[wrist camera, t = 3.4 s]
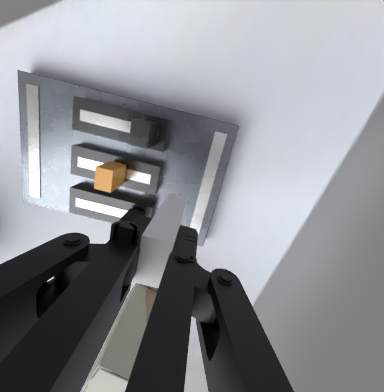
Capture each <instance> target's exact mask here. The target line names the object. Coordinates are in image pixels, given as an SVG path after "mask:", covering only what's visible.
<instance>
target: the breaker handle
mask: <svg viewBox="0 0 384 392" xmlns="http://www.w3.org/2000/svg"><path fill="white" fill-rule="evenodd" d="M125 172H126V164H122V163H118V162H114V161H110V162H107V163H104V164H102V165H99V166H96V170H95V183H94V189H97V190H101V191H105V192H109V193H111V192H113V191H114V190H116V189H117V188H118V187H120V186H121V185H123V184H124V180H125Z"/></svg>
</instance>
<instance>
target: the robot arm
mask: <svg viewBox="0 0 384 392" xmlns="http://www.w3.org/2000/svg"><path fill="white" fill-rule="evenodd" d="M187 200H188V197H184V196H180V195H176V194H172V193H168V195H167V196H166V198H165V200H164V201H163V203H162V204H161V206H160V207H159V209H158V211H157V212H156V214H155V215H154V217H153V218H149V217H145V216H139V217H136V218H135V219H134V220H133V221H132V222H131V221H117V222H114V223H113V224H112V225H111V233H110V240H109V241H108V242H107V243H106V244H89V243H90V240H89V237H87V236H86V235H84V234H81V233H68V234H64V235H61V236H59V237H57V238H55V239H53V240H51V241H48V242H46V243H44V244H42V245H40V246H38V247H36V248H34V249H32V250H29V251H27V252H25V253H23V254H21V255H19V256H17V257H15V258H13V259H11V260H8V261H6V262H4V263H2V264H0V392H80V391H81V389H82V387H83V385H84V383H85V381H86V379H87V377H88V374H89V372H90V370H91V368H92V366H93V364H94V362H95V360H96V358H97V356H98V354H99V352H100V350H101V348H102V346H103V344H104V342H105V340H106V338H107V336H108V334H109V332H110V330H111V327H112V325H113V323H114V321H115V319H116V317H117V315H118V313H119V311H120V309H121V307H122V305H123V303H124V301H125V299H126V297H127V295H128V293H129V291H130V286H131V281H132V279H133V277H134V283H138V284H142V285H146V286H150V287H154V288H158V291H157V294H156V297H155V300H154V303H153V306H152V310H151V313H150V316H149V319H148V322H147V325H146V328H145V331H144V334H143V337H142V340H141V343H140V347H139V350H138V353H137V356H136V359H135V362H134V365H133V368H132V371H131V374H130V377H129V380H128V384H127V387H126V390H125V392H184V384H185V373H186V364H187V354H188V345H189V335H190V325H191V316H193V317H195V318H196V324H197V330H198V335H199V341H200V347H201V352H202V358H203V363H204V369H205V374H206V380H207V385H208V391H209V392H294V391H293V389H292V387H291V385H290V383H289V381H288V379H287V377H286V375H285V373H284V371H283V368H282V366H281V364H280V363H279V360H278V358H277V356H276V354H275V352H274V350H273V348H272V346H271V344H270V342H269V340H268V338H267V336H266V334H265V332H264V330H263V328H262V325H261V323H260V321H259V319H258V318H257V315H256V313H255V311H254V309H253V307H252V305H251V303H250V301H249V299H248V297H247V295H246V293H245V291H244V289H243V287H242V284H241V282H240V280H239V279H238V278H237V276H236V275H235V274H233V273H232V272H230V271H228V270H226V269H215V270H213V271H212V272H211V273H210V272H208V271H206V270H205V269H203V268H202V267H201V266H199V264H198V263H197V260H196V250H197V240H198V232H197V231H196V229H194V228H191V227H187V226H183V225H181V224H182V220H183V216H184V212H185V208H186V204H187ZM134 275H135V276H134ZM53 276H54V279H52V280H51V281H48V282H47V280H49V279H50V278H52V277H53Z"/></svg>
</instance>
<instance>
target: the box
mask: <svg viewBox="0 0 384 392" xmlns="http://www.w3.org/2000/svg"><path fill="white" fill-rule="evenodd" d="M156 294H157V292H155V291H153V290H151V289H149V288H147V287H145V286H143V285H141V284H138V283H136V285H135V286H134V287H133V289H132V291H131V292H130V294H129V296H128V297H127V299H126V301H125V303H124V304H123V306H122V309H121V311H120V313H119V315H118V317H117V319H116V321H115V323H114V325H113V327H112V329H111V331H110V333H109V335H108V337H107V340H106V342H105V344H104V346H103V348H102V350H101V352H100V354H99V356H98V358H97V361H96V363H95V365H94V367H93V369H92V371H91V373H90V375H89V378H88V380H87V382H86V384H85V386H84V389H83V390H82V392H125V390H126V387H127V384H128V380H129V377H130V374H131V371H132V368H133V365H134V362H135V359H136V356H137V353H138V350H139V347H140V343H141V340H142V337H143V334H144V331H145V328H146V325H147V322H148V319H149V316H150V313H151V310H152V306H153V303H154V300H155V297H156Z"/></svg>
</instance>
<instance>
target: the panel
mask: <svg viewBox="0 0 384 392" xmlns="http://www.w3.org/2000/svg"><path fill="white" fill-rule="evenodd" d="M18 90H19V112H20V134H21V156H22V178H23V200H24V202H27V203H31V204H35V205H39V206H43V207H47V208H51V209H55V210H59V211H63V212H67V213H71V214H75V215H79V216H83V217H87V218H91V219H95V220H99V221H103V222H107V223H111V224H113V223H114V222H117V221H131V222H132V221H133V220H134V219H135V218H136V217H139V216H145V217H149V218H153V217H154V215H155V214H156V212H157V211H158V209H159V207H160V206H161V204H162V203H163V201H164V200H165V198H166V196H167V195H168V193H172V194H176V195H180V196H184V197H188V200H187V204H186V208H185V212H184V216H183V220H182V224H181V225H183V226H187V227H191V228H194V229H196V231H197V232H198V240H197V245H199V246H203V245H204V242H205V238H206V235H207V232H208V228H209V225H210V222H211V218H212V215H213V212H214V208H215V205H216V201H217V198H218V195H219V191H220V188H221V185H222V181H223V178H224V175H225V171H226V168H227V165H228V161H229V158H230V155H231V151H232V148H233V145H234V141H235V138H236V134H237V131H238V128H239V126H237V125H233V124H229V123H225V122H221V121H217V120H213V119H209V118H206V117H202V116H198V115H194V114H190V113H186V112H182V111H178V110H174V109H170V108H166V107H162V106H158V105H154V104H150V103H146V102H142V101H138V100H134V99H130V98H126V97H122V96H118V95H115V94H111V93H107V92H103V91H99V90H95V89H91V88H87V87H83V86H79V85H75V84H71V83H67V82H63V81H59V80H55V79H51V78H47V77H43V76H39V75H35V74H31V73H27V72H23V71H20V70H18ZM110 161H114V162H118V163H122V164H126V172H125V180H124V184H123V185H121V186H120V187H118V188H117V189H116V190H114V191H113V192H111V193H109V192H105V191H101V190H97V189H94V183H95V170H96V166H99V165H102V164H104V163H107V162H110Z"/></svg>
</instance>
